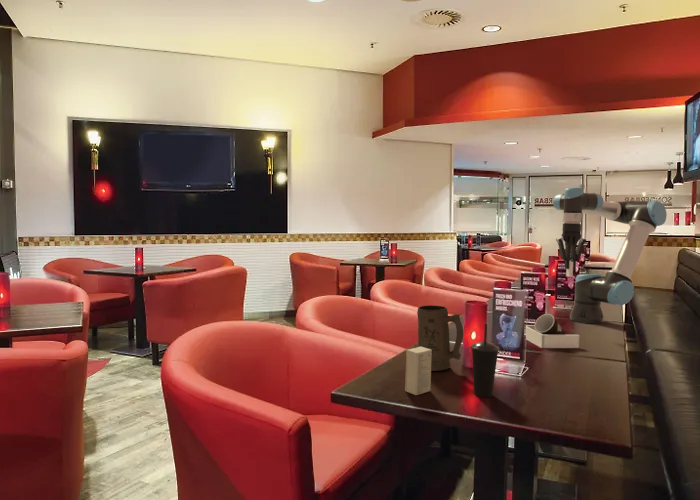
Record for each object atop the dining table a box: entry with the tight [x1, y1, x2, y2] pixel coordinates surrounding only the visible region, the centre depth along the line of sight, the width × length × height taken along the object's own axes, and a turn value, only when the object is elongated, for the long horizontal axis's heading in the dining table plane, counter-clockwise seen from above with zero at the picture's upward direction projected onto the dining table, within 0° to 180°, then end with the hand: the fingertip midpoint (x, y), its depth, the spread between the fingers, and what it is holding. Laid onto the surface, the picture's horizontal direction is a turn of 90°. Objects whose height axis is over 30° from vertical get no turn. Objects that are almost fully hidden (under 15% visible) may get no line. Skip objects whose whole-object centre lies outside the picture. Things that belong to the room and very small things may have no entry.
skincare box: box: [404, 346, 432, 396], centre depth 146 cm, size 6×4×12 cm
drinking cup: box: [470, 323, 500, 398], centre depth 145 cm, size 8×8×20 cm
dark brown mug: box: [534, 313, 567, 335], centre depth 206 cm, size 12×9×10 cm
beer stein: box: [416, 304, 464, 372], centre depth 169 cm, size 15×11×20 cm
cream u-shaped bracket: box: [525, 324, 580, 349], centre depth 208 cm, size 15×18×5 cm
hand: (569, 276), depth 230 cm, fingers closed
